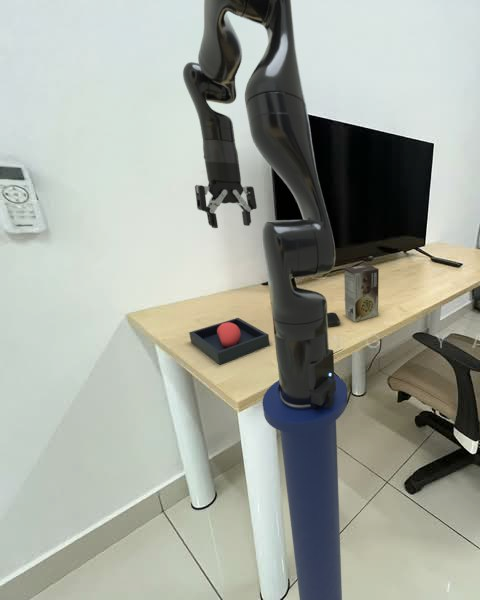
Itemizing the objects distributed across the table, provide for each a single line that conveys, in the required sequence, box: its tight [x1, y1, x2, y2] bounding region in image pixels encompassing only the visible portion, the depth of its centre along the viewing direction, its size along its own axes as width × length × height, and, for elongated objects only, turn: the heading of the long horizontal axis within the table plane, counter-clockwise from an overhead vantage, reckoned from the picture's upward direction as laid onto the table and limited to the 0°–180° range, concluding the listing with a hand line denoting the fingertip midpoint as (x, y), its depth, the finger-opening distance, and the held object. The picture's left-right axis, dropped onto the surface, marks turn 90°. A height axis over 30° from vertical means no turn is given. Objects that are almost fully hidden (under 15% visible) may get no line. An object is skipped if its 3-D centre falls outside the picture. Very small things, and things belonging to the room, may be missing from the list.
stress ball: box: [217, 322, 241, 348], centre depth 80 cm, size 5×9×6 cm, turn 26°
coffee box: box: [343, 264, 380, 323], centre depth 99 cm, size 9×6×16 cm
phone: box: [327, 312, 341, 328], centre depth 94 cm, size 8×1×15 cm
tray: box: [188, 317, 271, 366], centre depth 80 cm, size 16×13×3 cm
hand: (231, 226), depth 84 cm, fingers open, 8 cm apart
